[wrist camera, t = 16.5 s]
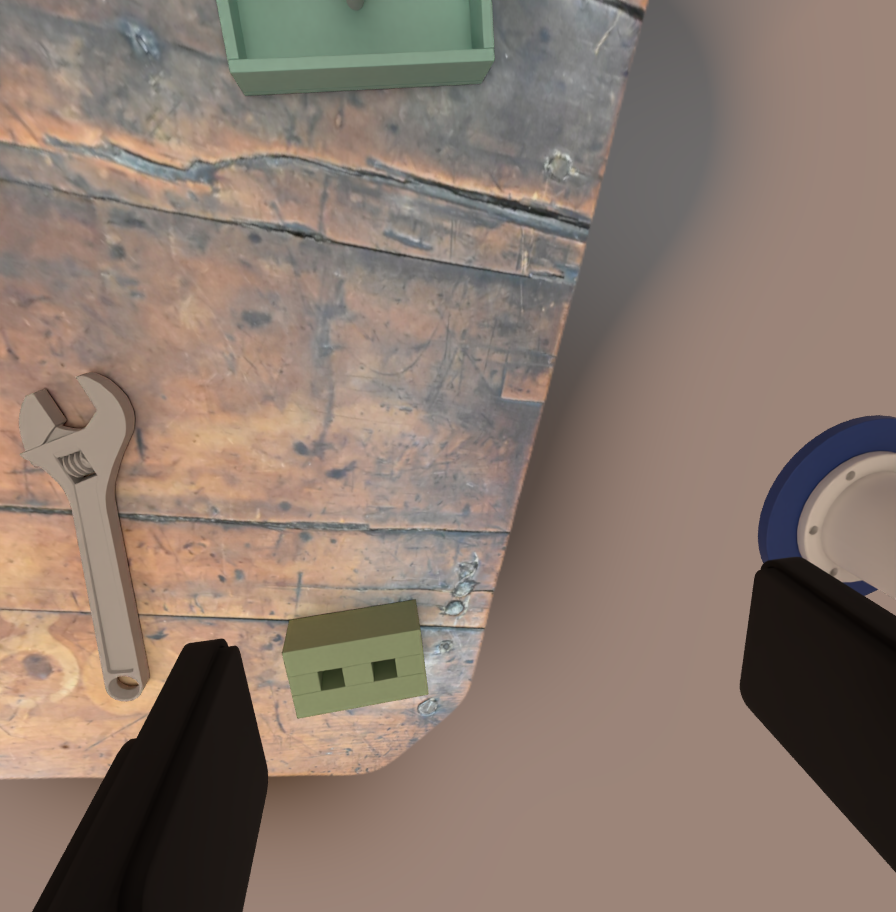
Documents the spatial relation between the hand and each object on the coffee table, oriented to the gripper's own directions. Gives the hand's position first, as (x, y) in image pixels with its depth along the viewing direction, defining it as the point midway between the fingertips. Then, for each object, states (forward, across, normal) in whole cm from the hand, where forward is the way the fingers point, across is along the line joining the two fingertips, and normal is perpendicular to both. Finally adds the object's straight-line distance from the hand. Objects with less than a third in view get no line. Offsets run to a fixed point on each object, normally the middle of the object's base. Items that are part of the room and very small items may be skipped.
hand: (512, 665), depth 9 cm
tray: (+30, +1, -22) cm, 37 cm away
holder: (+30, +6, +21) cm, 37 cm away
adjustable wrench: (+30, +23, +10) cm, 39 cm away
